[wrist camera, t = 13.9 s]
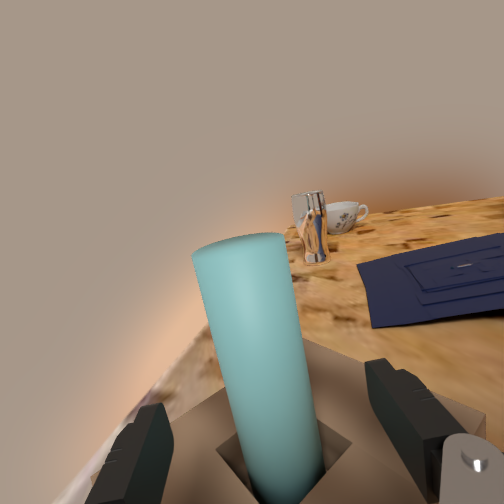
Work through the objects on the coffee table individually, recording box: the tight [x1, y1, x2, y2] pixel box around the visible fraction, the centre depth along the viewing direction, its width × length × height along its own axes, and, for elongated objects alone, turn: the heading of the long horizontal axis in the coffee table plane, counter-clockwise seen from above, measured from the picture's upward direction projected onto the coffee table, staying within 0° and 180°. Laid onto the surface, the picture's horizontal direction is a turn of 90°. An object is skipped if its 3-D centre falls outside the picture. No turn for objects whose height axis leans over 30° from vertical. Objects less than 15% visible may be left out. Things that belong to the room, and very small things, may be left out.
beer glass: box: [291, 190, 331, 266], centre depth 62 cm, size 7×7×15 cm
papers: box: [357, 233, 504, 328], centre depth 41 cm, size 24×30×4 cm
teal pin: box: [192, 233, 326, 504], centre depth 16 cm, size 4×4×16 cm
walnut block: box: [91, 338, 486, 504], centre depth 17 cm, size 18×14×5 cm
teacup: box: [326, 202, 368, 234], centre depth 86 cm, size 15×12×8 cm
